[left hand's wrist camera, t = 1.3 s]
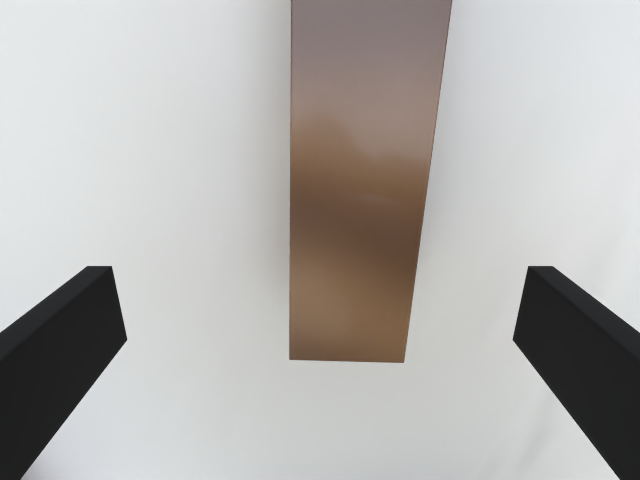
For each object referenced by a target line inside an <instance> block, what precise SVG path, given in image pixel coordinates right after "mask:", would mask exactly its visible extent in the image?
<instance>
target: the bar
mask: <svg viewBox="0 0 640 480" xmlns="http://www.w3.org/2000/svg"><path fill="white" fill-rule="evenodd" d="M451 6H452V0H291V132H290V313H289V359H290V360H316V361H354V362H391V363H404V358H405V351H406V343H407V336H408V328H409V321H410V313H411V306H412V298H413V291H414V283H415V276H416V268H417V261H418V254H419V246H420V239H421V231H422V224H423V216H424V209H425V201H426V194H427V186H428V179H429V171H430V164H431V156H432V149H433V141H434V134H435V126H436V119H437V111H438V104H439V96H440V89H441V81H442V74H443V66H444V59H445V51H446V44H447V36H448V29H449V21H450V14H451Z"/></svg>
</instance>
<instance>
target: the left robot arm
mask: <svg viewBox="0 0 640 480" xmlns="http://www.w3.org/2000/svg"><path fill="white" fill-rule="evenodd" d="M126 341H127V336H126V331H125V326H124V322H123V317H122V312H121V308H120V303H119V298H118V293H117V289H116V284H115V279H114V275H113V270H112V266H87V267H86V268H84V269H83V270H82V271H80V272H79V273H78V274H77V275H75V276H74V277H73V278H71V279H70V280H69V281H67V282H66V283H65V284H63V285H62V286H61V287H60V288H58V289H57V290H56V291H54V292H53V293H52V294H50V295H49V296H48V297H46V298H45V299H44V300H43V301H41V302H40V303H39V304H37V305H36V306H35V307H33V308H32V309H31V310H29V311H28V312H27V313H26V314H24V315H23V316H22V317H20V318H19V319H18V320H16V321H15V322H14V323H13V324H11V325H10V326H9V327H7V328H6V329H5V330H3V331H2V332H1V333H0V480H20V479H21V478H22V476H23V475H24V474H25V473H26V471H27V470H28V469H29V467H30V466H31V465H32V463H33V462H34V461H35V460H36V458H37V457H38V456H39V454H40V453H41V452H42V450H43V449H44V448H45V446H46V445H47V444H48V443H49V441H50V440H51V439H52V437H53V436H54V435H55V433H56V432H57V431H58V430H59V428H60V427H61V426H62V424H63V423H64V422H65V420H66V419H67V418H68V416H69V415H70V414H71V413H72V411H73V410H74V409H75V407H76V406H77V405H78V403H79V402H80V401H81V399H82V398H83V397H84V396H85V394H86V393H87V392H88V390H89V389H90V388H91V386H92V385H93V384H94V383H95V381H96V380H97V379H98V377H99V376H100V375H101V373H102V372H103V371H104V369H105V368H106V367H107V366H108V364H109V363H110V362H111V360H112V359H113V358H114V356H115V355H116V354H117V352H118V351H119V350H120V349H121V347H122V346H123V345H124V343H125V342H126ZM513 341H514V342H515V343H516V345H517V346H518V347H519V349H520V350H521V351H522V352H523V354H524V355H525V356H526V358H527V359H528V360H529V362H530V363H531V364H532V366H533V367H534V368H535V369H536V371H537V372H538V373H539V375H540V376H541V377H542V379H543V380H544V381H545V383H546V384H547V385H548V386H549V388H550V389H551V390H552V392H553V393H554V394H555V396H556V397H557V398H558V399H559V401H560V402H561V403H562V405H563V406H564V407H565V409H566V410H567V411H568V413H569V414H570V415H571V416H572V418H573V419H574V420H575V422H576V423H577V424H578V426H579V427H580V428H581V430H582V431H583V432H584V433H585V435H586V436H587V437H588V439H589V440H590V441H591V443H592V444H593V445H594V446H595V448H596V449H597V450H598V452H599V453H600V454H601V456H602V457H603V458H604V460H605V461H606V462H607V463H608V465H609V466H610V467H611V469H612V470H613V471H614V473H615V474H616V475H617V476H618V478H619V479H620V480H640V333H639V332H638V331H637V330H635V329H634V328H633V327H631V326H630V325H629V324H627V323H626V322H625V321H624V320H622V319H621V318H620V317H618V316H617V315H616V314H614V313H613V312H612V311H611V310H609V309H608V308H607V307H605V306H604V305H603V304H601V303H600V302H599V301H597V300H596V299H595V298H594V297H592V296H591V295H590V294H588V293H587V292H586V291H584V290H583V289H582V288H580V287H579V286H578V285H577V284H575V283H574V282H573V281H571V280H570V279H569V278H567V277H566V276H565V275H563V274H562V273H561V272H560V271H558V270H557V269H556V268H554V267H553V266H528V270H527V275H526V279H525V284H524V289H523V293H522V298H521V303H520V308H519V312H518V317H517V322H516V326H515V331H514V336H513Z"/></svg>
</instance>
